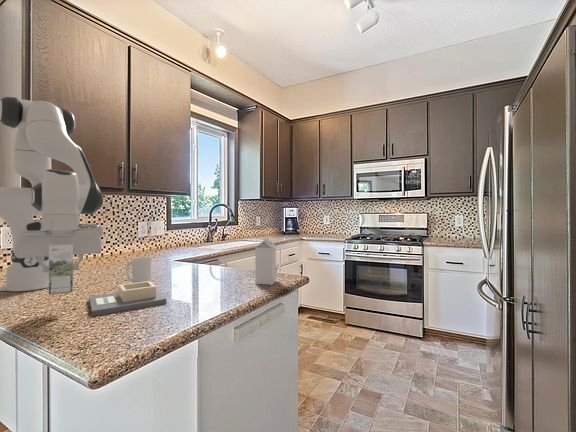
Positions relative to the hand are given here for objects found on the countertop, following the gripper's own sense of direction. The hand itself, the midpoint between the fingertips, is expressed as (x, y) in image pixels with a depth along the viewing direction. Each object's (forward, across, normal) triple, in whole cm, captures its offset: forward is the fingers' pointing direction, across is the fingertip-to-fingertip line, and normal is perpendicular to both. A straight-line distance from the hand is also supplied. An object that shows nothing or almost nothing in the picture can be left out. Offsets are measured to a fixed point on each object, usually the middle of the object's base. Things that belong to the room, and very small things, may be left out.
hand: (61, 270), depth 87 cm
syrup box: (+6, 0, 0) cm, 6 cm away
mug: (+12, -23, -16) cm, 31 cm away
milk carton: (+12, -68, +5) cm, 69 cm away
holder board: (+12, -17, +1) cm, 21 cm away
